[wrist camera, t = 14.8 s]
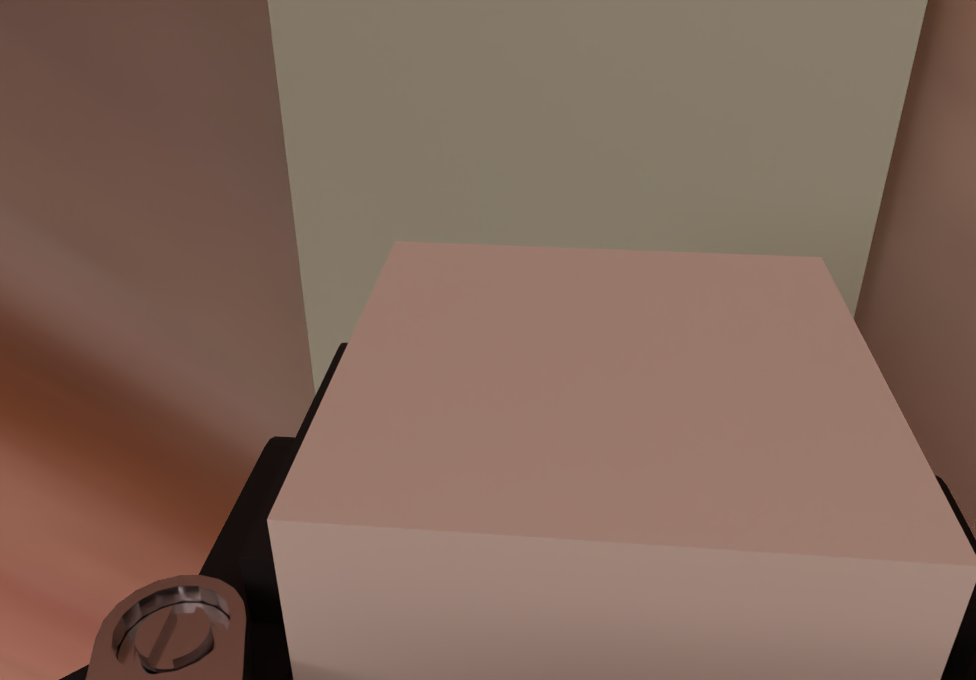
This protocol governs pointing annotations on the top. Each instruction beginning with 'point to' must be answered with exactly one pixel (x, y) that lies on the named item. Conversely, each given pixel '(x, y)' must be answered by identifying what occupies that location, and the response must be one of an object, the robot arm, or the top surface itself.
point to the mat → (584, 131)
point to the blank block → (613, 480)
